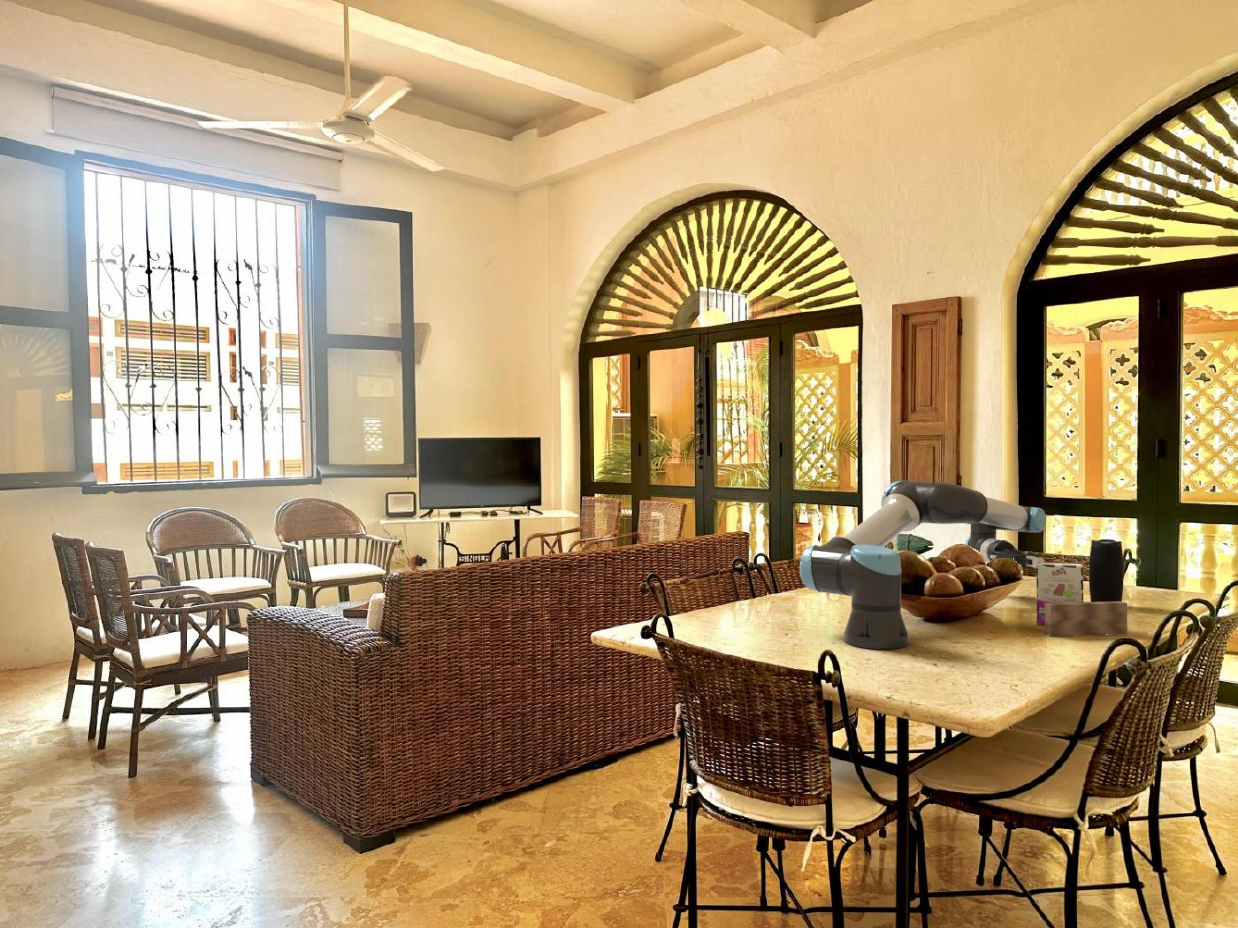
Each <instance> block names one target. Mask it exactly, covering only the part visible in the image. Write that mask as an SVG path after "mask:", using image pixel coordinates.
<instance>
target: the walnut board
mask: <svg viewBox="0 0 1238 928" xmlns="http://www.w3.org/2000/svg"><path fill="white" fill-rule="evenodd" d="M1106 634H1112V635H1111V636H1118V635H1117V634H1127V635H1128V602H1124V601H1123V600H1122V601H1112V602H1091V601H1084V602H1069V603H1045V625H1044V635H1045V636H1047V635H1049V636H1048V637H1050V636H1059V637H1076V636H1075V635H1098V636H1107V635H1106ZM1069 635H1070V636H1069Z"/></svg>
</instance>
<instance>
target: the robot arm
mask: <svg viewBox="0 0 1238 928" xmlns="http://www.w3.org/2000/svg"><path fill="white" fill-rule="evenodd" d="M883 493H884V495H882V496H881V502H880V503H881V507H880V508H879V509H878V510H877V511H875V512H874V513H873V514H871V516H869V517H868V518H866V519H864V520H863V521H862V522H860V523H859V525H857V526H856V527H855V528H854V529H852V530H851V531H850V532H848V533H847V534H846V535H845V536H835V537H833V538H831V539H829V540H828V542H827V541H826V543H824V544H823V545H817V544H814V545H809V546H807V547H805V549H804V550H803V552H802V554H801V556H800V562H799V576H800V579H801V581H802V583H803V585H804V586H805V587H806V588H808V589H809V590H812V591H817V592H818V593H827V594H833V595H834V594H835V595H840V596H847V597H851V611H850V613H849V617H848V620H847V623H846V625H845V630H844V635H843V636H844V637H843V640H844V642H845V643H846V644H848V645H851V646H854V647H859V648H863V649H872V650H895V649H901V648H906V647H908V646H909V641H910V639H909V637H910V636H909V632H908V629H907V627H906V624H905V620H904V618H903V614H902V605H901V604H902V572H903V571H902V565H901V563H902V562H901V556H900V555H899V553H898V552H897V551H895V550H894V549H891V548H888V547H886V546H887V545H888V544H889V543H890V542H892V540H894V539H895V538H896V537H898V536H899V535H900V534H901V533H902V532H911V531H913V530H915V529H916V528H917V527H918V526H920V525H921V524H937V525H939V524H940V525H948V524H967V525H970V533H969V534H970V535H969V536H968V538H967V539H966V540H965V543H964V546H965V545H969V546H971V547H972V548H974V549H976V550H978V551H979V552H980V553H981V554H982V555H983V556H984V558H985V561H984V562H987V563H990V561H991V560H992V559H993V558H995V557H997V558H995V559H998V558H1010V559H1013V558H1014V560H1015V561H1017V563H1018V564H1017V563H1016V564H1017V565H1020V567H1021V568H1026V566H1028V567H1030V568H1034V569H1036V565H1037V562H1041V563H1045V559H1044V558H1042V557H1040V555H1039V554H1037V553H1034V552H1033V551H1032V550H1028V551H1025V552H1024V553H1023V551H1022V550H1019V549H1017V548H1016V547H1015V545H1014V544H1013V543H1011V542H1009V541H1005V540H1002V539H998V538H997V530H998V531H1010V532H1011V531H1012V532H1020V533H1021V532H1023V533H1031V534H1032V533H1042V532H1043V530H1044V529H1045V527H1046V525H1047V523H1046V521H1047V517H1046V515H1047V514H1046V513H1045V510H1044V509H1042V508H1040V507H1034V506H1029V507H1028V506H1023V505H1019V504H1014V503H1011V502H1007V501H1004V500H1003V501H1002V500H999V499H995V498H992V497H987V496H985V495H984V494H983V493H982V492H980V491H978V490H975V489H971V488H969V487H965V486H962V485H958V484H954V483H951V482H945V481H943V482H942V481H941V482H939V481H938V482H937V481H911V480H906V479H905V480H899V481H894V482H893V481H892V483H890V484H889V485H888V486H886V487H885V489H884V492H883ZM1014 563H1015V562H1014ZM1017 565H1016V566H1017Z"/></svg>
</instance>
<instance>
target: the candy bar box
mask: <svg viewBox="0 0 1238 928" xmlns="http://www.w3.org/2000/svg"><path fill="white" fill-rule="evenodd" d="M1035 569H1036V574H1035V575H1036V625H1038V626H1045V603H1069V602H1085V601H1084V600H1085V599H1084V598H1085V597H1084V564H1083V563H1067V562H1066V563H1064V562H1059V563H1058V562H1044V563H1041V562H1037V565H1036V568H1035Z"/></svg>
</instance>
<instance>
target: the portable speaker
mask: <svg viewBox="0 0 1238 928" xmlns="http://www.w3.org/2000/svg"><path fill="white" fill-rule="evenodd" d="M1090 541H1091V543H1090V544H1091V545H1090V550H1089V551H1090V552H1089V566H1088V572H1089V573H1088V581H1089V582H1088V585H1089V586H1088V587H1089V588H1088V590H1089V591H1088V592H1089V595H1090V596H1089V599H1090V602H1112V601H1122V602H1123V594H1124V593H1123V592H1124V554H1123V544H1122V542H1123V541H1117V540H1115V539H1110V538H1109V539H1108V538H1101V539H1099V540H1098V539H1097V540H1095V539H1091V540H1090Z"/></svg>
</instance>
